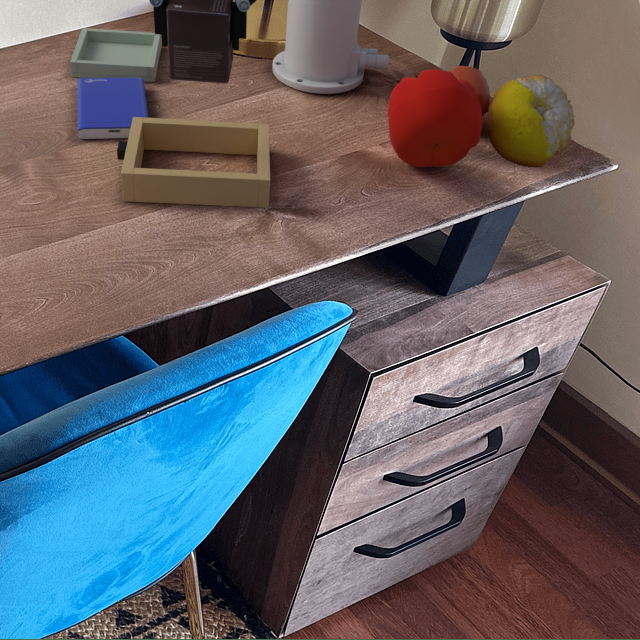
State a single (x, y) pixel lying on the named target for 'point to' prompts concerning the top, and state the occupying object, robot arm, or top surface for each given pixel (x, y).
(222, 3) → the box
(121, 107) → the hard drive
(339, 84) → the robot arm
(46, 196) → the top surface
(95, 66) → the tray
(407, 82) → the tomato
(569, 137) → the fruit
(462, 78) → the tomato
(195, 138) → the tan rectangular bin
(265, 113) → the top surface
